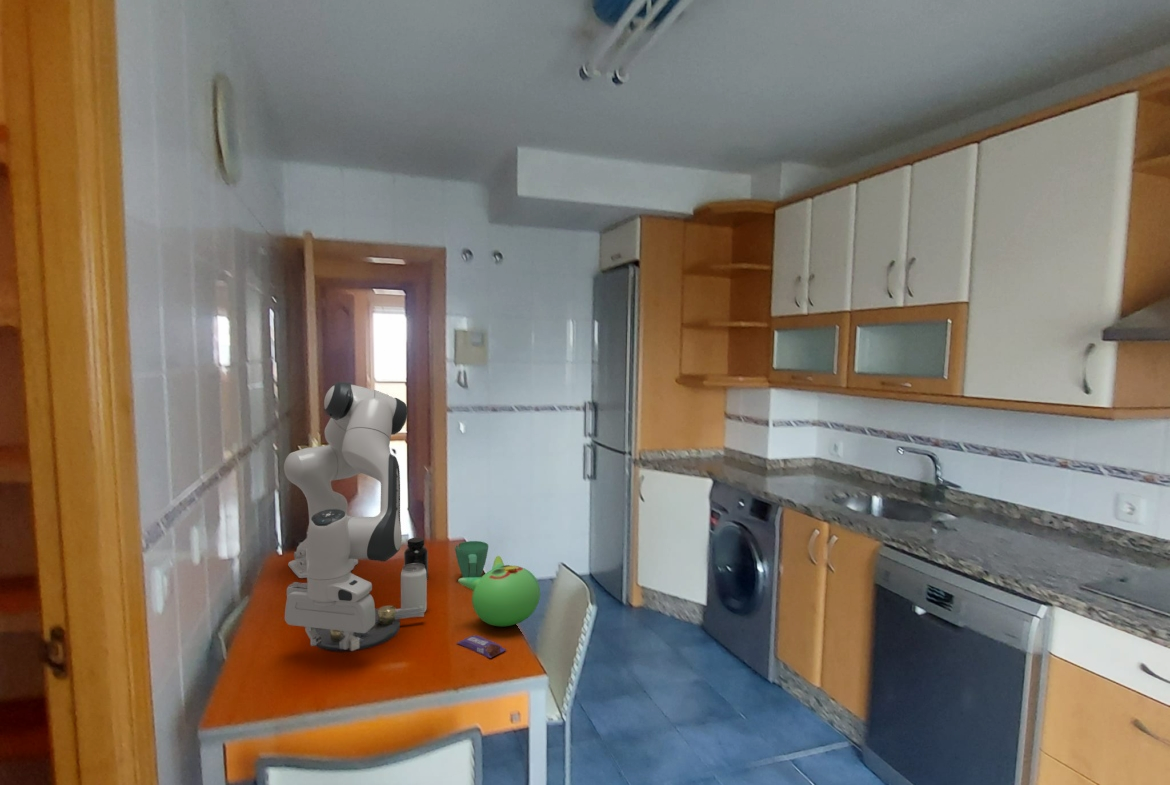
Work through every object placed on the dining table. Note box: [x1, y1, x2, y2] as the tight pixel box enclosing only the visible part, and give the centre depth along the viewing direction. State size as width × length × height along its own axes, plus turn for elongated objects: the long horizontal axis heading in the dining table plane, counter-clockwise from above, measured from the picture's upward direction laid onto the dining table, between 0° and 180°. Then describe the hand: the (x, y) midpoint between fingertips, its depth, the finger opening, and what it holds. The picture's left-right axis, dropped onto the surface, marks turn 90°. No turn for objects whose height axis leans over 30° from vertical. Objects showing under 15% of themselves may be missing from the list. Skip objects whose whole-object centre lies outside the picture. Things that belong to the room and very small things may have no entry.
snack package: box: [456, 635, 507, 659], centre depth 141 cm, size 12×2×5 cm
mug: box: [454, 540, 489, 578], centre depth 183 cm, size 15×10×10 cm
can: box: [400, 563, 428, 613], centre depth 161 cm, size 6×6×12 cm
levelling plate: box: [315, 608, 401, 653], centre depth 149 cm, size 20×20×3 cm
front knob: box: [330, 630, 359, 652], centre depth 139 cm, size 11×4×3 cm, turn 43°
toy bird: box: [457, 555, 541, 627], centre depth 155 cm, size 18×17×15 cm
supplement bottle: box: [403, 537, 429, 579], centre depth 184 cm, size 7×7×12 cm
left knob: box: [377, 605, 425, 624], centre depth 152 cm, size 11×4×3 cm, turn 109°
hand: (330, 646), depth 136 cm, fingers open, 6 cm apart
